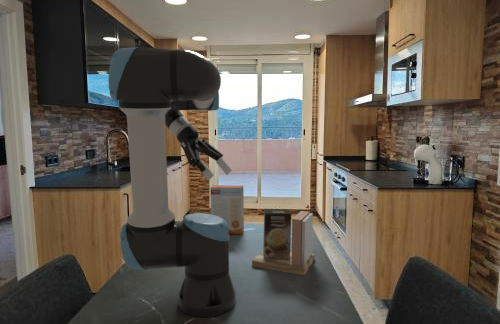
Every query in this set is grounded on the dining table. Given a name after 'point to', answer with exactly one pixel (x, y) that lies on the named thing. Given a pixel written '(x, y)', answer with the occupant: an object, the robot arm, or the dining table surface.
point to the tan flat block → (297, 236)
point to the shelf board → (281, 264)
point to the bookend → (306, 240)
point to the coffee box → (277, 234)
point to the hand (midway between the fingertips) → (221, 175)
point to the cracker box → (229, 206)
